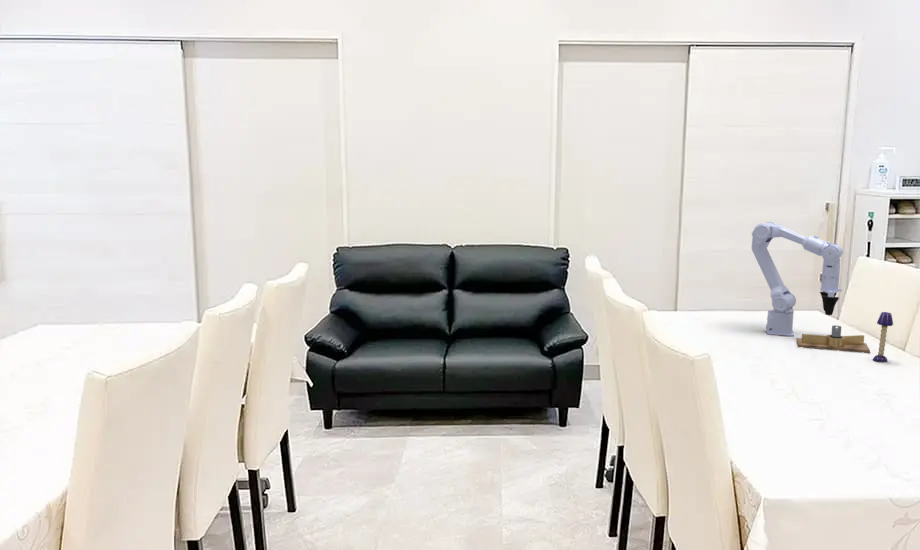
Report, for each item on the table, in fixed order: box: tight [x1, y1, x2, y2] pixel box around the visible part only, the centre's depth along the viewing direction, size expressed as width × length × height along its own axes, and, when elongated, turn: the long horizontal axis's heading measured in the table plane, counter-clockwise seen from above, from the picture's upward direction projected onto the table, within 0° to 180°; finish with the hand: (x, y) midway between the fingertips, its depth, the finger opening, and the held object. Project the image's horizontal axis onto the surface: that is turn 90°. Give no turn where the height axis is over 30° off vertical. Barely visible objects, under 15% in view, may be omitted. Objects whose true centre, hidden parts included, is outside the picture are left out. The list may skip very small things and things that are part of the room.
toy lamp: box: [872, 311, 894, 363], centre depth 245 cm, size 5×5×17 cm
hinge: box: [801, 333, 865, 348], centre depth 264 cm, size 21×9×3 cm, turn 68°
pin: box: [830, 325, 842, 338], centre depth 262 cm, size 3×3×7 cm
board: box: [796, 337, 871, 354], centre depth 265 cm, size 23×10×1 cm, turn 68°
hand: (827, 312), depth 273 cm, fingers open, 7 cm apart
